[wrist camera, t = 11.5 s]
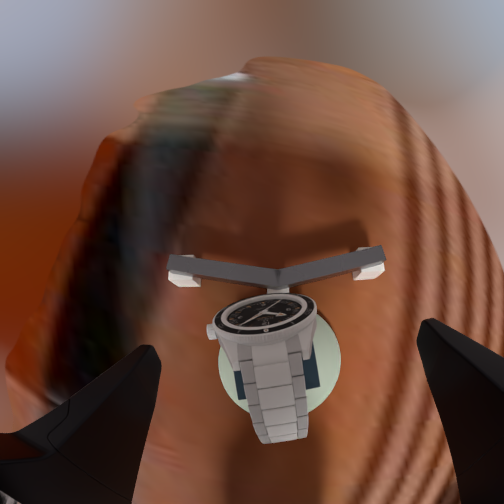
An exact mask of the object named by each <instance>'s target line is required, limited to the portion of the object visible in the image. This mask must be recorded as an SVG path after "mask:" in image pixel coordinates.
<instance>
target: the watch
mask: <svg viewBox="0 0 504 504" xmlns="http://www.w3.org/2000/svg"><path fill="white" fill-rule="evenodd" d="M316 313H317V307H316V303H315V301H314V300H313V299H311V298H310V297H307V296H304V295H301V294H295V293H271V294H264V295H258V296H253V297H249V298H246V299H243V300H240V301H237V302H235V303H232V304H230V305H228V306H226V307H225V308H223V309H222V310H220V311H219V312H218V313H217V314H216V315H215V317H214V318H213V324H207V335H208V338H209V339H210V340H212V339H218V340H219V343H220V345H221V347H222V348H223V350H224V352H225V353H226V356H227V358H228V360H229V363H230V365H231V367H232V369H233V371H234V378H235V384H236V390H237V396H238V400H244V399H247V403H248V409H249V412H250V416H251V419H252V422H253V427H254V429H255V432H256V434H257V435H258V438H259V439H260V441H261V442H262V443H263V444H268V443H276V442H283V441H289V440H295V439H300V438H306V437H307V432H308V407H307V396H306V390H308V389H313V388H317V387H320V381H319V374H318V368H317V362H316V356H315V350H314V345H313V337H314V334H315V331H316V328H317V323H316Z"/></svg>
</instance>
